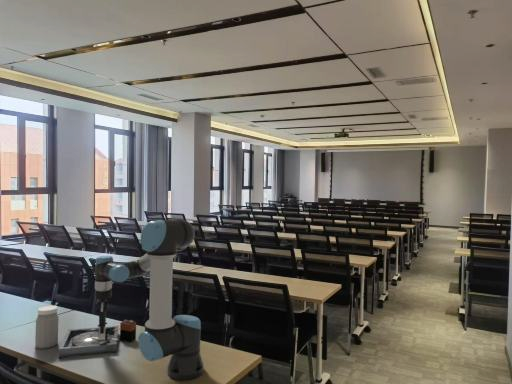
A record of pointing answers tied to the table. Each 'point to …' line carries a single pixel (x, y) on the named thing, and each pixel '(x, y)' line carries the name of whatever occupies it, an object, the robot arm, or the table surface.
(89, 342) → the dial
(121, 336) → the battery
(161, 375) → the table surface
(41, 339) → the jar
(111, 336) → the housing
